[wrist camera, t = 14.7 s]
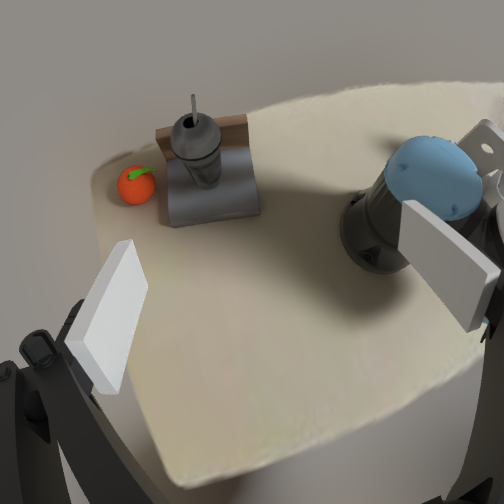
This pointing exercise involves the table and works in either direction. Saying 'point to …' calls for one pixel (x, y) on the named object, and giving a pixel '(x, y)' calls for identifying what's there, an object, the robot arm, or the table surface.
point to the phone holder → (486, 158)
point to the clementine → (136, 185)
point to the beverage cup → (198, 147)
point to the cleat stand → (230, 188)
